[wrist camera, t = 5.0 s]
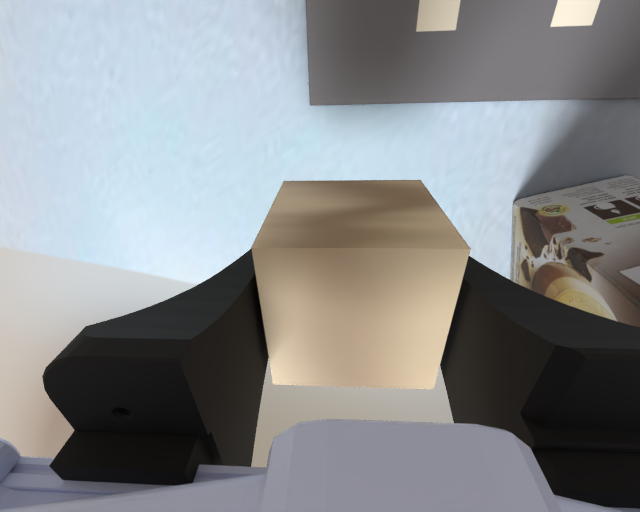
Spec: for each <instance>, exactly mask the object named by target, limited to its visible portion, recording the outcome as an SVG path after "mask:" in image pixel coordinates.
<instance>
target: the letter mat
mask: <svg viewBox="0 0 640 512" xmlns="http://www.w3.org/2000/svg"><path fill="white" fill-rule="evenodd" d="M306 19H307V45H308V70H309V96H310V105H350V104H393V103H436V102H480V101H523V100H567V99H610V98H640V0H306Z"/></svg>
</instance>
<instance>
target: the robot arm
mask: <svg viewBox="0 0 640 512" xmlns="http://www.w3.org/2000/svg"><path fill="white" fill-rule="evenodd" d="M268 357H269V355H268V349H267V342H266V336H265V330H264V324H263V317H262V311H261V305H260V299H259V292H258V286H257V280H256V274H255V267H254V261H253V255H252V249H250V250H249V251H248V252H246V253H245V254H244V255H243V256H241V257H240V258H239V259H237V260H236V261H235V262H233V263H232V264H230V265H229V266H228V267H226V268H225V269H223V270H222V271H221V272H219V273H217V274H216V275H214V276H213V277H211V278H209V279H208V280H206V281H204V282H202V283H201V284H199V285H197V286H195V287H193V288H191V289H189V290H187V291H185V292H183V293H181V294H178V295H176V296H174V297H172V298H170V299H168V300H165V301H163V302H160V303H158V304H155V305H153V306H151V307H147V308H145V309H142V310H139V311H136V312H133V313H130V314H127V315H124V316H121V317H118V318H114V319H110V320H107V321H104V322H100V323H97V324H93V325H89V326H86V327H85V328H84V329H83V330H82V331H81V332H80V333H79V334H78V335H77V336H76V337H75V338H74V339H73V340H72V341H71V342H70V343H69V344H68V346H67V347H66V348H65V349H64V350H63V351H62V352H61V353H60V354H59V355H58V356H57V357H56V358H55V359H54V360H53V361H52V362H51V363H50V364H49V365H48V366H47V367H46V369H45V371H44V374H43V382H44V388H45V391H46V392H47V394H48V396H49V398H50V399H51V400H52V402H53V403H54V404H55V406H56V407H57V408H58V409H59V411H60V412H61V413H62V414H63V415H64V417H65V418H66V419H67V421H68V422H69V423H70V424H71V426H72V427H73V428H74V430H75V431H74V432H73V434H72V435H71V436H70V438H69V439H68V441H67V442H66V443H65V445H64V446H63V448H62V449H61V450H60V452H59V453H58V454H57V456H56V457H55V458H45V457H23V456H21V455H20V452H19V451H18V450H17V449H16V448H15V447H14V446H13V445H12V444H11V443H9V442H8V441H6V440H4V439H1V438H0V512H640V327H636V326H632V325H629V324H625V323H621V322H618V321H615V320H611V319H608V318H605V317H602V316H599V315H595V314H592V313H589V312H586V311H583V310H580V309H577V308H575V307H572V306H569V305H566V304H564V303H561V302H559V301H556V300H553V299H551V298H548V297H546V296H543V295H541V294H539V293H536V292H534V291H532V290H530V289H528V288H526V287H523V286H521V285H519V284H517V283H515V282H513V281H511V280H509V279H507V278H505V277H503V276H502V275H500V274H498V273H496V272H495V271H493V270H491V269H489V268H488V267H486V266H484V265H483V264H481V263H479V262H478V261H476V260H475V259H473V258H471V257H470V256H469V257H468V260H467V264H466V268H465V272H464V276H463V279H462V283H461V287H460V291H459V295H458V298H457V302H456V306H455V310H454V314H453V317H452V321H451V325H450V329H449V332H448V336H447V340H446V344H445V348H444V351H443V355H442V359H441V363H440V366H441V370H442V374H443V378H444V382H445V386H446V390H447V394H448V399H449V403H450V407H451V412H452V416H453V421H454V423H432V422H404V421H376V420H348V419H347V420H346V419H345V420H344V419H322V420H314V421H306V422H299V423H297V424H296V425H294V426H292V427H290V428H289V429H287V430H285V431H283V432H282V433H280V434H279V435H277V436H275V437H274V439H273V442H272V445H271V449H270V452H269V457H268V462H267V467H266V468H265V467H251V462H252V456H253V448H254V441H255V434H256V427H257V420H258V414H259V408H260V401H261V396H262V389H263V384H264V378H265V373H266V367H267V361H268Z"/></svg>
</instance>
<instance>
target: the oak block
mask: <svg viewBox="0 0 640 512" xmlns="http://www.w3.org/2000/svg"><path fill="white" fill-rule="evenodd" d="M251 249H252V255H253V261H254V267H255V274H256V280H257V286H258V292H259V299H260V305H261V311H262V317H263V324H264V330H265V336H266V342H267V349H268V355H269V361H270V367H271V374H272V380H273V384H278V385H279V384H280V385H311V386H314V385H315V386H344V387H345V386H346V387H348V386H349V387H378V388H410V389H434V385H435V382H436V378H437V374H438V370H439V367H440V363H441V359H442V355H443V351H444V348H445V344H446V340H447V336H448V332H449V329H450V325H451V321H452V317H453V314H454V310H455V306H456V302H457V298H458V295H459V291H460V287H461V283H462V279H463V276H464V272H465V268H466V264H467V260H468V257H469V253H470V247H469V246H468V245H467V243H466V242H465V240H464V239H463V238H462V236H461V235H460V234H459V232H458V231H457V230H456V228H455V227H454V225H453V224H452V223H451V221H450V220H449V219H448V217H447V216H446V214H445V213H444V212H443V210H442V209H441V208H440V206H439V205H438V203H437V202H436V201H435V199H434V198H433V197H432V195H431V194H430V192H429V191H428V190H427V188H426V187H425V186H424V184H423V183H422V182H421V180H360V181H284V182H283V184H282V186H281V188H280V190H279V192H278V194H277V196H276V198H275V200H274V202H273V204H272V206H271V208H270V210H269V212H268V215H267V217H266V219H265V221H264V223H263V225H262V227H261V229H260V231H259V233H258V235H257V237H256V239H255V241H254V243H253V245H252V247H251Z"/></svg>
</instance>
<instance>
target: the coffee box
mask: <svg viewBox="0 0 640 512" xmlns="http://www.w3.org/2000/svg"><path fill="white" fill-rule="evenodd" d="M511 281H513V282H515V283H517V284H519V285H521V286H523V287H526V288H528V289H530V290H532V291H534V292H536V293H539V294H541V295H543V296H546V297H548V298H551V299H553V300H556V301H559V302H561V303H564V304H566V305H569V306H572V307H575V308H577V309H580V310H583V311H586V312H589V313H592V314H595V315H599V316H602V317H605V318H608V319H611V320H615V321H618V322H621V323H625V324H629V325H632V326H636V327H640V179H638V178H636V177H633V176H630V175H625V176H620V177H616V178H611V179H606V180H602V181H597V182H593V183H588V184H583V185H579V186H574V187H570V188H565V189H561V190H556V191H552V192H547V193H542V194H538V195H534V196H529V197H525V198H521V199H518V200H516V201H515V203H514V205H513V227H512V255H511Z"/></svg>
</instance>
